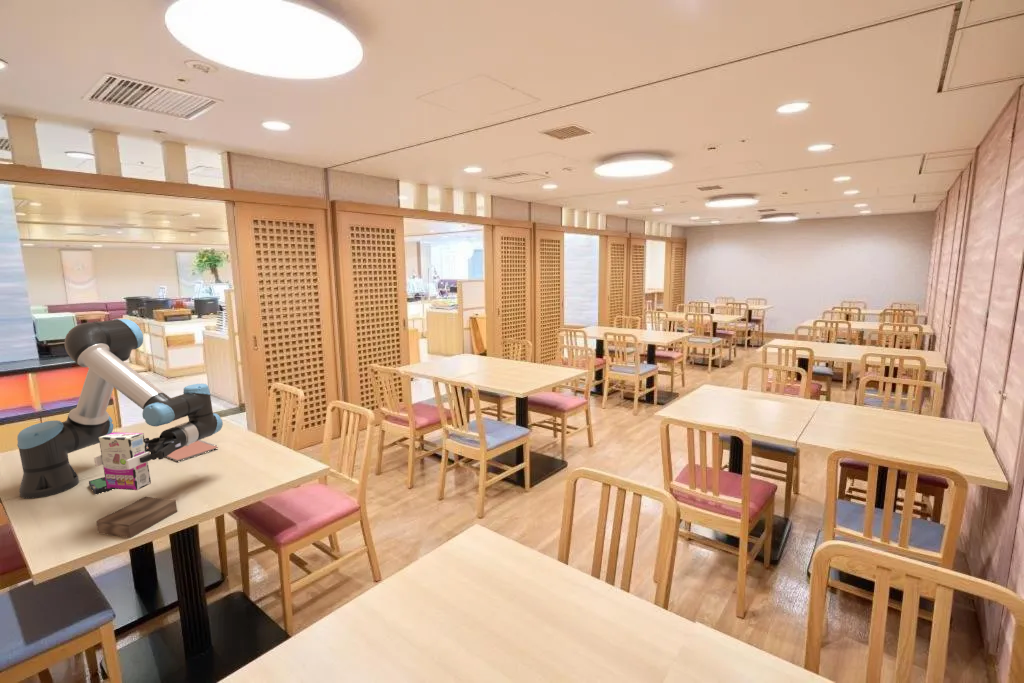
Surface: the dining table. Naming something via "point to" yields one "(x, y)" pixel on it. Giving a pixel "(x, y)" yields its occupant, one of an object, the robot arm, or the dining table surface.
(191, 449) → the notebook
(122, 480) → the candy bar box
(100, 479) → the disk drive
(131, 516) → the wooden block
